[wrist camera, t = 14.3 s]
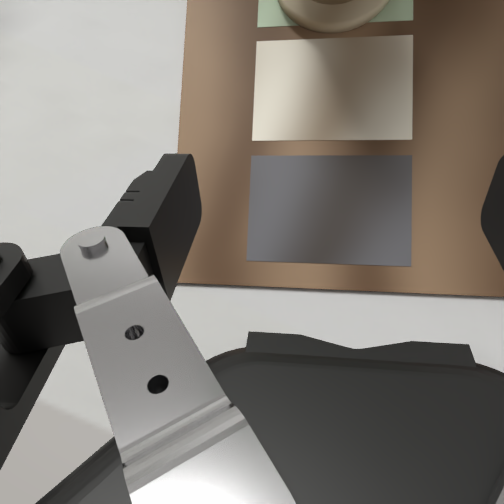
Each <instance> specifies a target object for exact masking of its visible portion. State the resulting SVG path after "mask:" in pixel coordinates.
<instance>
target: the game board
mask: <svg viewBox="0 0 504 504" xmlns="http://www.w3.org/2000/svg"><path fill="white" fill-rule="evenodd" d="M177 154H192V156H193V158H194V161H195V166H196V173H197V179H198V185H199V191H200V197H201V203H202V216H201V222H200V225H199V228H198V230H197V233H196V235H195V238H194V241H193V243H192V246H191V248H190V251H189V254H188V256H187V259H186V261H185V264H184V267H183V269H182V272H181V274H180V277H179V280H178V282H177V283H196V284H219V285H242V286H265V287H288V288H311V289H334V290H357V291H380V292H403V293H426V294H449V295H472V296H495V297H504V271H503V269H502V267H501V265H500V263H499V261H498V259H497V257H496V255H495V254H494V252H493V250H492V248H491V246H490V244H489V242H488V240H487V238H486V236H485V234H484V232H483V230H482V227H481V210H482V207H483V204H484V201H485V198H486V195H487V192H488V189H489V187H490V184H491V181H492V178H493V175H494V172H495V170H496V167H497V164H498V162H499V160H500V158H501V157H502V156H503V155H504V0H389V2H388V3H387V5H386V6H385V7H384V9H383V10H382V11H381V12H380V13H379V14H378V15H377V16H376V17H374V18H373V19H372V20H370V21H369V22H367V23H366V24H364V25H362V26H360V27H358V28H356V29H353V30H350V31H346V32H341V33H320V32H315V31H311V30H308V29H306V28H303V27H301V26H300V25H298V24H296V23H295V22H294V21H292V20H291V19H290V18H289V17H288V16H287V15H286V14H285V13H284V11H283V10H282V8H281V6H280V4H279V2H278V0H187V13H186V29H185V44H184V60H183V75H182V91H181V106H180V122H179V137H178V153H177Z"/></svg>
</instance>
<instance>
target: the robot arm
mask: <svg viewBox="0 0 504 504" xmlns="http://www.w3.org/2000/svg"><path fill="white" fill-rule="evenodd" d="M201 216H202V203H201V197H200V191H199V185H198V179H197V173H196V166H195V161H194V158H193V156H192V154H164V155H163V156H162V158H161V159H160V161H159V162H158V164H157V165H156V167H155V169H154V170H153V171H146V172H145V173H143V174H142V175H140V176H139V177H137V178H136V179H134V180H133V182H132V183H131V184H130V186H129V187H128V189H127V190H126V193H124V194H123V196H122V197H121V199H120V201H119V202H118V203H117V204H116V206H115V207H114V209H113V210H112V212H111V213H110V214H109V216H108V217H107V219H106V220H105V222H104V223H103V224H102V226H100V227H93V228H89V229H86V230H83V231H81V232H79V233H77V234H75V235H73V236H72V237H71V238H69V239H68V240H67V241H66V242H65V243H64V244H63V246H62V248H61V250H60V254H56V255H51V256H45V257H40V258H34V259H28V260H27V258H26V257H25V255H24V253H23V251H22V249H21V248H20V247H19V246H18V245H16V244H13V243H0V469H1V468H2V466H3V464H4V462H5V460H6V458H7V456H8V454H9V452H10V450H11V448H12V446H13V444H14V443H15V441H16V439H17V437H18V435H19V433H20V431H21V429H22V427H23V425H24V423H25V421H26V419H27V417H28V416H29V414H30V412H31V409H32V408H33V406H34V404H35V402H36V400H37V398H38V396H39V394H40V392H41V390H42V389H43V387H44V385H45V383H46V381H47V379H48V377H49V375H50V373H51V371H52V369H53V367H54V365H55V363H56V362H57V360H58V358H59V356H60V354H61V352H62V350H63V348H64V346H65V345H66V344H70V343H75V342H80V341H84V342H85V345H86V348H87V352H88V355H89V358H90V361H91V364H92V367H93V370H94V374H95V377H96V380H97V383H98V386H99V389H100V393H101V396H102V399H103V402H104V405H105V408H106V411H107V415H108V418H109V421H110V424H111V427H112V430H113V434H114V437H113V438H112V439H110V440H109V441H108V442H107V443H106V444H105V445H103V446H102V447H101V448H100V449H99V450H98V451H96V452H95V453H94V454H93V455H92V456H91V457H89V458H88V459H87V460H86V461H85V462H83V463H82V464H81V465H80V466H79V467H78V468H77V469H75V470H74V471H73V472H72V473H71V474H69V475H68V476H67V477H66V478H65V479H64V480H62V481H61V482H60V483H59V484H58V485H57V486H55V487H54V488H53V489H52V490H51V491H50V492H48V493H47V494H46V495H45V496H44V497H43V498H41V499H40V500H39V501H38V502H37V503H36V504H504V373H502V372H500V371H498V370H495V369H493V368H490V367H487V366H484V365H481V364H478V363H475V360H474V357H473V354H472V352H471V349H470V346H469V345H467V344H450V343H433V342H417V341H410V342H404V343H397V344H391V345H384V346H378V347H371V348H365V349H352V348H347V347H344V346H340V345H336V344H333V343H329V342H325V341H322V340H318V339H314V338H311V337H307V336H303V335H298V334H281V333H264V332H249V333H248V339H247V345H246V347H245V348H239V349H235V350H231V351H228V352H225V353H222V354H220V355H217V356H214V357H213V358H211V359H209V360H207V361H205V359H204V358H203V356H202V354H201V353H200V351H199V349H198V347H197V346H196V344H195V342H194V341H193V339H192V337H191V336H190V334H189V332H188V331H187V329H186V327H185V326H184V324H183V322H182V321H181V319H180V317H179V315H178V314H177V312H176V310H175V309H174V307H173V305H172V304H171V302H170V300H171V298H172V295H173V293H174V290H175V287H176V285H177V282H178V280H179V277H180V274H181V272H182V269H183V267H184V264H185V261H186V259H187V256H188V254H189V251H190V248H191V246H192V243H193V241H194V238H195V235H196V233H197V230H198V228H199V225H200V222H201ZM481 227H482V230H483V232H484V234H485V236H486V238H487V240H488V242H489V244H490V246H491V248H492V250H493V252H494V254H495V255H496V257H497V259H498V261H499V263H500V265H501V267H502V269H503V271H504V155H503V156H502V157H501V158H500V160H499V162H498V164H497V167H496V170H495V172H494V175H493V178H492V181H491V184H490V187H489V189H488V192H487V195H486V198H485V201H484V204H483V207H482V210H481Z"/></svg>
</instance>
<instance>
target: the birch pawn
mask: <svg viewBox="0 0 504 504" xmlns="http://www.w3.org/2000/svg"><path fill="white" fill-rule="evenodd" d="M278 2H279V4H280V6H281V8H282V10H283V11H284V13H285V14H286V15H287V16H288V17H289V18H290V19H291V20H292V21H294V22H295V23H296V24H298V25H300V26H301V27H303V28H306V29H308V30H311V31H315V32H320V33H341V32H346V31H350V30H353V29H356V28H358V27H360V26H362V25H364V24H366V23H367V22H369V21H370V20H372V19H373V18H374V17H376V16H377V15H378V14H379V13H380V12H381V11H382V10H383V9H384V7H385V6H386V5H387V3H388V2H389V0H278Z"/></svg>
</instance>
